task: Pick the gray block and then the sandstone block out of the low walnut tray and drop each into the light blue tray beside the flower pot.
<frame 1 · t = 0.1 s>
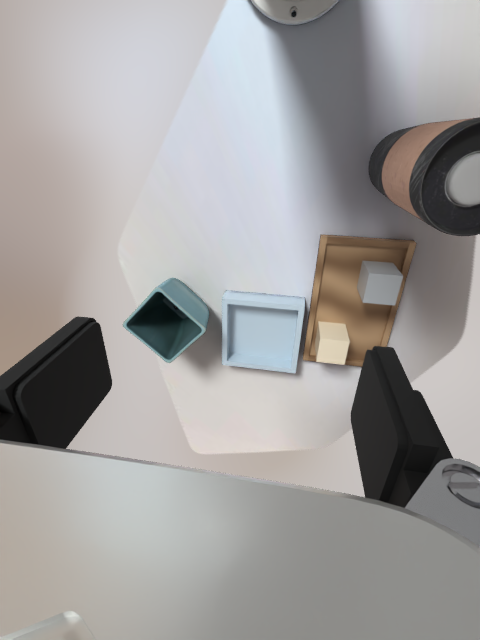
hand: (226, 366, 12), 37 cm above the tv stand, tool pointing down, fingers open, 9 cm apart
sand stone: (329, 333, 51), point 1 cm above the tv stand, touching walnut tray
walnut tray: (351, 304, 49), on the tv stand
gray block: (374, 275, 45), point 1 cm above the tv stand, touching walnut tray
light blue tray: (262, 327, 53), on the tv stand
travel mug: (399, 163, 39), on the tv stand
flower pot: (183, 300, 53), on the tv stand
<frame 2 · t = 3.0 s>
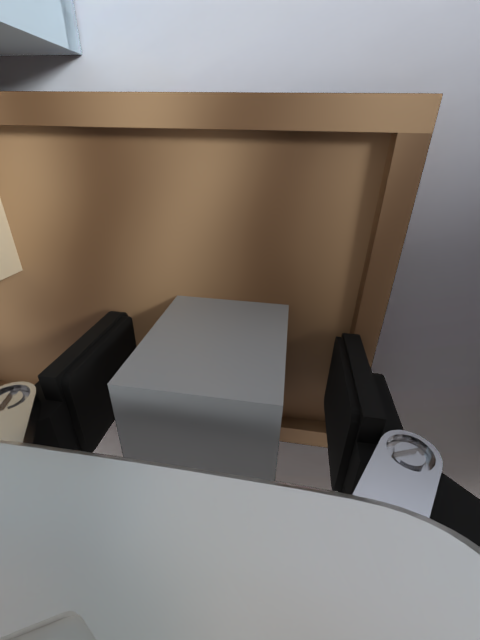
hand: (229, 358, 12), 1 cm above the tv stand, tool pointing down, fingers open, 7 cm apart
walnut tray: (107, 282, 13), on the tv stand
gray block: (231, 347, 13), point 1 cm above the tv stand, touching walnut tray
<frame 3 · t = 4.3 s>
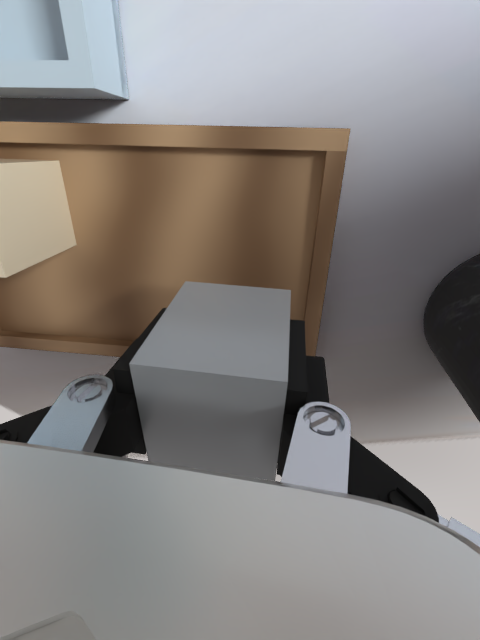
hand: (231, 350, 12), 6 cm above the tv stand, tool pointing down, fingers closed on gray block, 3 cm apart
sand stone: (30, 203, 17), point 1 cm above the tv stand, touching walnut tray
walnut tray: (137, 254, 18), on the tv stand
gray block: (236, 330, 13), point 5 cm above the tv stand, touching gripper
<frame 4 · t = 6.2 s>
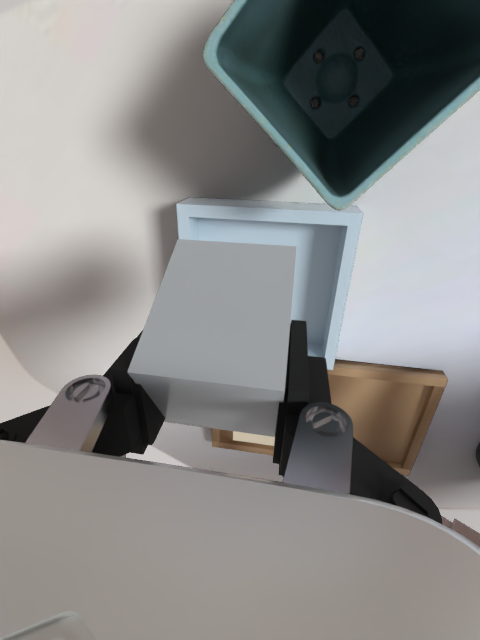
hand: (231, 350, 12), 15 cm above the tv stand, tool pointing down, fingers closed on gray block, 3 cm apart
sand stone: (263, 386, 31), point 1 cm above the tv stand, touching walnut tray
walnut tray: (313, 408, 32), on the tv stand
gray block: (239, 282, 13), point 13 cm above the tv stand, tilted 27°, touching gripper
light blue tray: (265, 279, 26), on the tv stand
flower pot: (335, 82, 20), on the tv stand
when the fingers open (4 cm above the tv stand, at t = 8.4 s): gray block stays where it is and tips over, resting on light blue tray.
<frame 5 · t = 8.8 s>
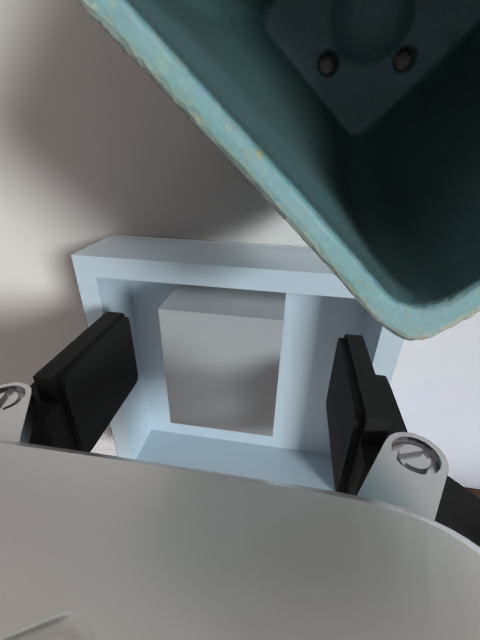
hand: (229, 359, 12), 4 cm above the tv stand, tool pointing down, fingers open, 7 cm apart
gray block: (230, 289, 12), point 3 cm above the tv stand, tilted 90°, touching light blue tray
light blue tray: (242, 360, 17), on the tv stand
flower pot: (366, 23, 10), on the tv stand
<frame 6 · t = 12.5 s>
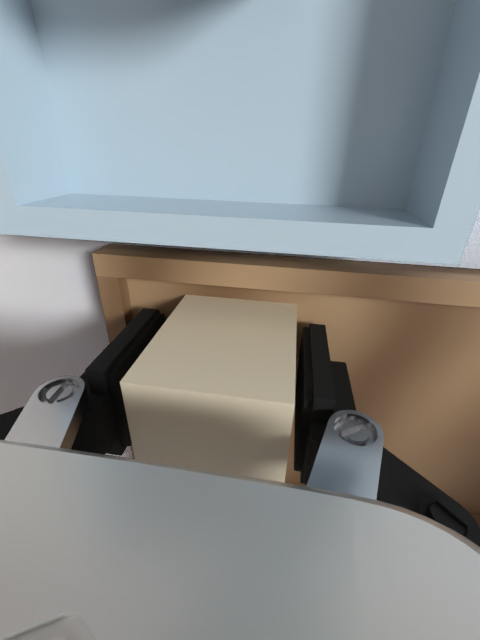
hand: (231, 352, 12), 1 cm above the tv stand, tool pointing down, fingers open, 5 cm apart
sand stone: (239, 346, 13), point 1 cm above the tv stand, touching walnut tray
walnut tray: (358, 401, 14), on the tv stand
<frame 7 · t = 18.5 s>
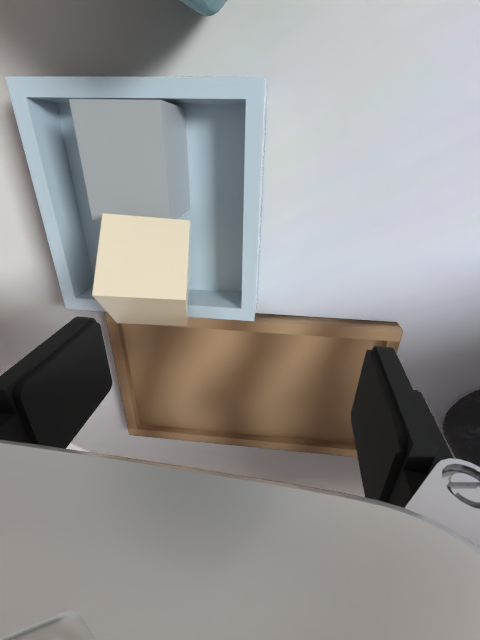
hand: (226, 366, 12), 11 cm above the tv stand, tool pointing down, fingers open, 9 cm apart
sand stone: (155, 292, 20), point 3 cm above the tv stand, tilted 45°, touching light blue tray, gray block
walnut tray: (247, 380, 26), on the tv stand
gray block: (133, 104, 15), point 3 cm above the tv stand, tilted 90°, touching light blue tray, sand stone
light blue tray: (163, 205, 20), on the tv stand
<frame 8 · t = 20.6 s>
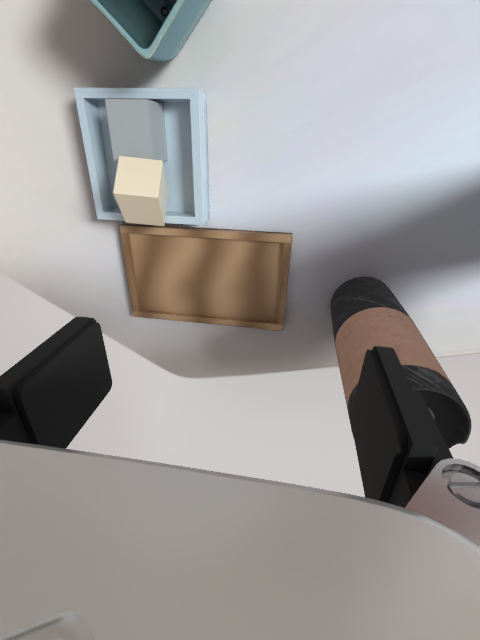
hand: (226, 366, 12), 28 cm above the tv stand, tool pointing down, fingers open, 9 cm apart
sand stone: (147, 207, 35), point 3 cm above the tv stand, tilted 45°, touching light blue tray, gray block
walnut tray: (206, 276, 41), on the tv stand
gray block: (135, 101, 31), point 3 cm above the tv stand, tilted 90°, touching light blue tray, sand stone
light blue tray: (153, 159, 35), on the tv stand
travel mug: (360, 303, 40), on the tv stand
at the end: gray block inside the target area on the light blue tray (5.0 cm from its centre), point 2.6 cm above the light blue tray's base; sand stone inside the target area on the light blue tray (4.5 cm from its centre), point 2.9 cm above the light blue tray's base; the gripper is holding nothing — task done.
